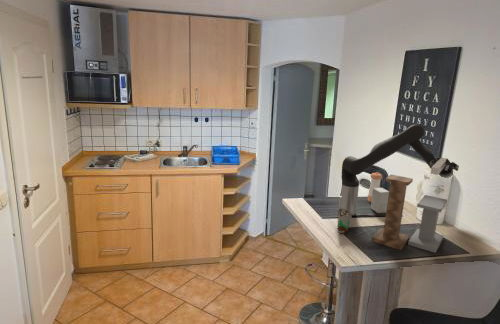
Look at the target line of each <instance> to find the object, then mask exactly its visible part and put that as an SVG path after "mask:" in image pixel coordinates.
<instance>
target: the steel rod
mask: <svg viewBox="0 0 500 324" xmlns="http://www.w3.org/2000/svg"><path fill="white" fill-rule="evenodd" d="M439 158H440V159H439V160H438V161H437V162H436V163H435V164H434V165H433V166H432V168H430V175H438V174H439V173H440V172H441V171H442V169H443V168H444V167H445V166H446V159H448V160H449V158H446V157H439Z"/></svg>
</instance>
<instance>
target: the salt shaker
mask: <svg viewBox="0 0 500 324" xmlns="http://www.w3.org/2000/svg"><path fill="white" fill-rule="evenodd" d="M370 178H371V180H370V181H371V182H370V186H369V189H368V194H367V201H368V202H370V203H371V201H372V193H373V188H381V180H382V179H383V175H382V174H381V173H379V172H378V171H376V172H372V173H371V174H370Z"/></svg>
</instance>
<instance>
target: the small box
mask: <svg viewBox="0 0 500 324" xmlns="http://www.w3.org/2000/svg"><path fill="white" fill-rule="evenodd" d="M388 196H389V190H387V189H385V188H384V187H380V188H373V193H372V201H371V202H370V209H371V210H373V211H374V212H376V213H377V214H384V213H385V214H386V210H387V203H388Z"/></svg>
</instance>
